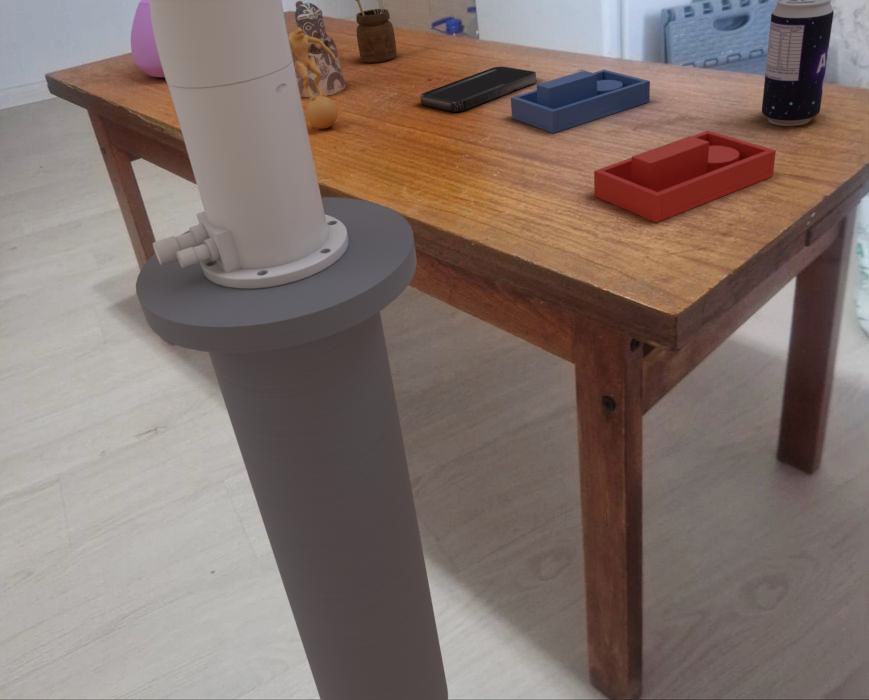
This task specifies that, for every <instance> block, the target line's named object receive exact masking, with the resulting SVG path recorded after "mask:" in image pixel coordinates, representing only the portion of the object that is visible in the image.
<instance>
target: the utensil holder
mask: <svg viewBox="0 0 869 700" xmlns="http://www.w3.org/2000/svg"><path fill="white" fill-rule="evenodd" d="M355 2H357V6H358V8H359V11H360V12H358V13H356V18H355V19H356V23H357V24H358V25H357V27H356V39H357V47H358V52H359V57H360V60H361V61H362V62H363V63H367V64H368V63H369V64H375V63H376V64H378V63H383V62H387V61H390V60H393V59H395V58H396V57H397V44H396V37H395V36H396V35H395V30H394V26H393V24H392V22H391V20H390V19H391V16H390V12H389V10H388V9H387V8H386V4H387V2H384V1H382V2H381V5H383V8H382V7H380V8H379V6H378V4H379V3H376V5H377V6H375V4H373V3H374V0H371V2H370V4H371V6H372V7H371V9H367V10H363V7H362V4H361V1H360V0H355ZM383 3H384V4H383Z"/></svg>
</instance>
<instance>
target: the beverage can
mask: <svg viewBox="0 0 869 700" xmlns="http://www.w3.org/2000/svg"><path fill="white" fill-rule="evenodd" d="M831 1H832V0H776V5H775V7H774V9H773V10H772V12H771V14H770V24H769V25H770V26H769V33H768V34H769V35H768V44H767V54H766V64H765V74H764V83H763V91H762V92H763V94H762V103H761V114H762V115H763V116H764V117H765V118H766V119H767V120H768V122H769V123H771V124H772V125H776V126H782V127H795V126H796V127H797V126H803V125H806V124H808V123H809V122H811V120H812V119H813V118H815V117H816V116H817V115H819V114H820V113H821V105H822V98H823V92H824V85H825V84H824V83H825V79H826V70H827V63H828V56H829V49H830V41H831V34H832V28H833V20H834V14H835V13H834V9H833V6H832V4H831Z"/></svg>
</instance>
